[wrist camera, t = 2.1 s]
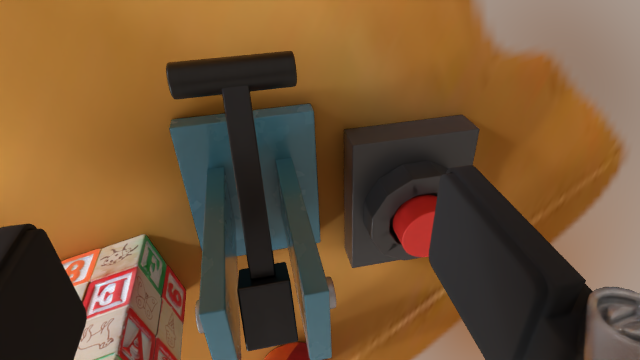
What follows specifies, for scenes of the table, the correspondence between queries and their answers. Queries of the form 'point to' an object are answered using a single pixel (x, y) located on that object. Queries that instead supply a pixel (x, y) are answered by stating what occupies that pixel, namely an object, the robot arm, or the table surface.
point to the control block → (396, 178)
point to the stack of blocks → (128, 303)
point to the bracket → (282, 210)
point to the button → (415, 224)
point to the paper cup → (289, 352)
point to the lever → (248, 182)
